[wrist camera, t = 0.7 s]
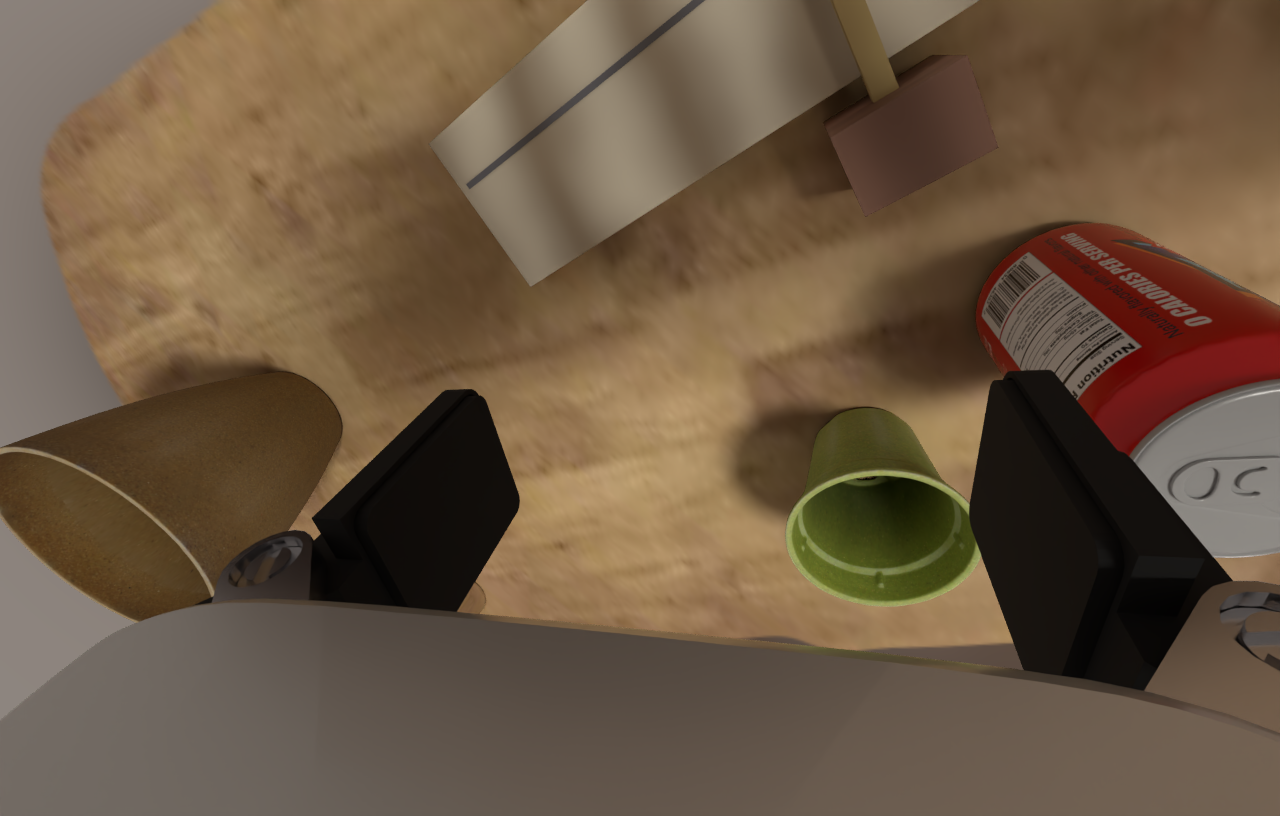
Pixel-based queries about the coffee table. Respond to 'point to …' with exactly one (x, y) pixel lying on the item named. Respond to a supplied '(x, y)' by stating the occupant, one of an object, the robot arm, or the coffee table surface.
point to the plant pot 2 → (879, 516)
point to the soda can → (1154, 368)
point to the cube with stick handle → (905, 118)
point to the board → (646, 110)
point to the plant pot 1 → (168, 487)
